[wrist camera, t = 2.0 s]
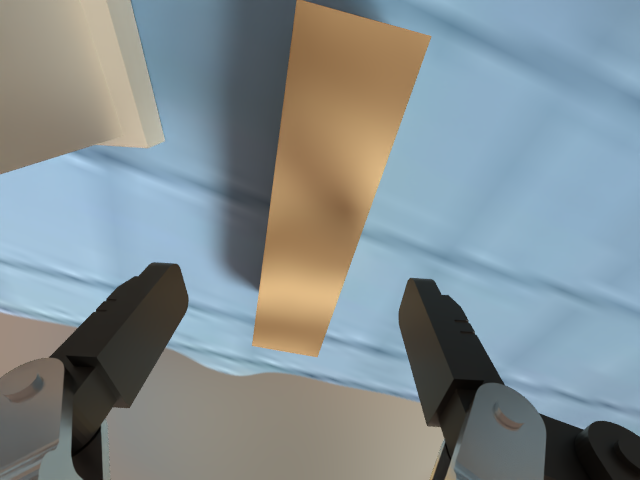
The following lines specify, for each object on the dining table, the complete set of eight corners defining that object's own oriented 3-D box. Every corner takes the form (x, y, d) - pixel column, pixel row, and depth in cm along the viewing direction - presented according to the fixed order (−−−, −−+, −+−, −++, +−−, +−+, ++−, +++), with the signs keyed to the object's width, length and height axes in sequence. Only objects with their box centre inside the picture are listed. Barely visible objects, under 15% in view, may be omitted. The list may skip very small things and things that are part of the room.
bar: (309, 22, 11) (296, -2, 8) (399, 46, 12) (431, 36, 8) (267, 292, 20) (251, 345, 16) (320, 303, 20) (317, 357, 16)
